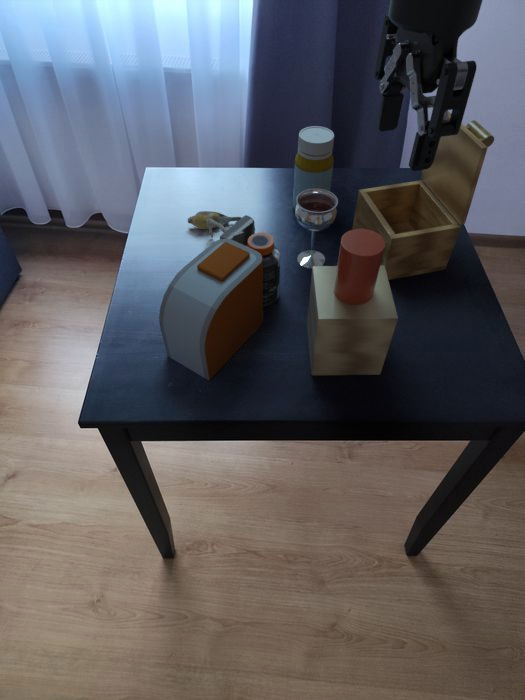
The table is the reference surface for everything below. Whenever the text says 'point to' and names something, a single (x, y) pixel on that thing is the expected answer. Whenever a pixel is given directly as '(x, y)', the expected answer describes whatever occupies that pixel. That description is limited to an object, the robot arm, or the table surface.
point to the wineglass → (315, 220)
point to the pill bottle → (267, 265)
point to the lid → (458, 168)
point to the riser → (348, 327)
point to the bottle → (313, 160)
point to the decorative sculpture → (215, 219)
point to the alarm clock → (213, 306)
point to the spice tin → (358, 266)
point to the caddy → (408, 227)
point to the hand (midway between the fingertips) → (401, 147)
